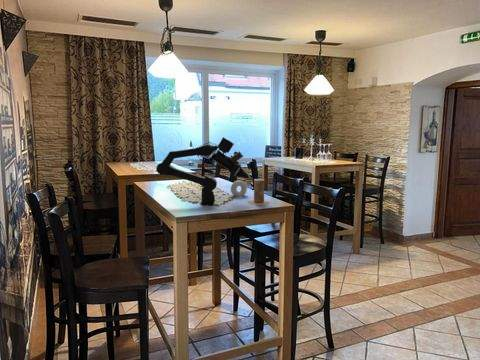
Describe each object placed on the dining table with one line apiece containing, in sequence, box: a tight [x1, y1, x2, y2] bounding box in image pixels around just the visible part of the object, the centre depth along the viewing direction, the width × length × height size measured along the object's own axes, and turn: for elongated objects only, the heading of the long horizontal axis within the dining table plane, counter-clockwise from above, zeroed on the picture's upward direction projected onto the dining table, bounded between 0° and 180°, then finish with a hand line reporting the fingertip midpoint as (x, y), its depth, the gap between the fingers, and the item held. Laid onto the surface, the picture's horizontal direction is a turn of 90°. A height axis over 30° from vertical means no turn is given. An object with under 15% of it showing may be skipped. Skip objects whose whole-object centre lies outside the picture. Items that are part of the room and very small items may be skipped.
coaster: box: [247, 199, 271, 206], centre depth 204 cm, size 12×12×1 cm
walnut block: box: [253, 178, 265, 203], centre depth 203 cm, size 5×5×12 cm
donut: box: [230, 180, 248, 197], centre depth 221 cm, size 10×4×10 cm, turn 115°
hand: (248, 176), depth 202 cm, fingers open, 9 cm apart
